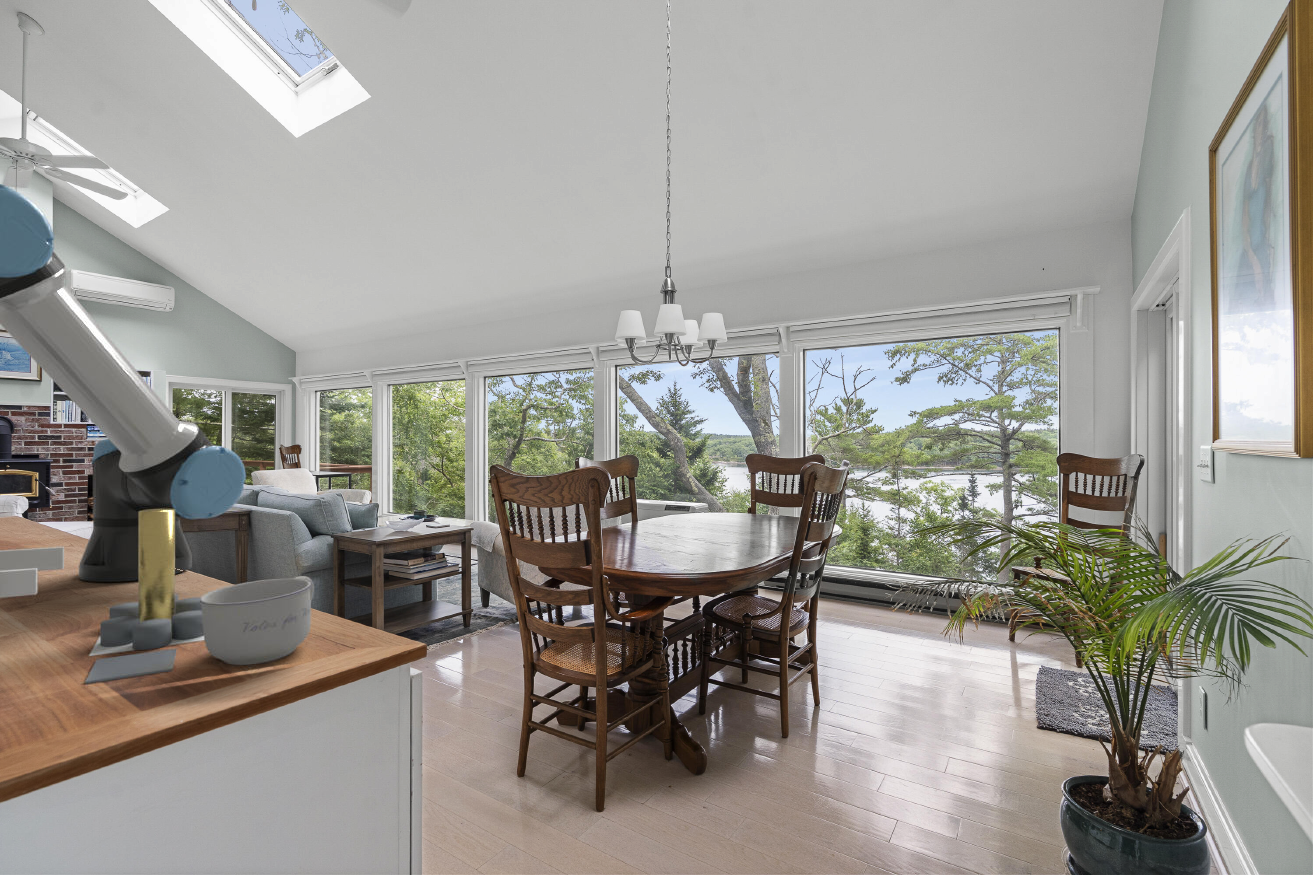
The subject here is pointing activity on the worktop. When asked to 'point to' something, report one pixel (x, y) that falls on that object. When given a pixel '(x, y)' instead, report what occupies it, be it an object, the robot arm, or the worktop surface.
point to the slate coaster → (131, 665)
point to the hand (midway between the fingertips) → (51, 568)
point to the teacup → (257, 619)
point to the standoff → (156, 564)
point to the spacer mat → (149, 628)
